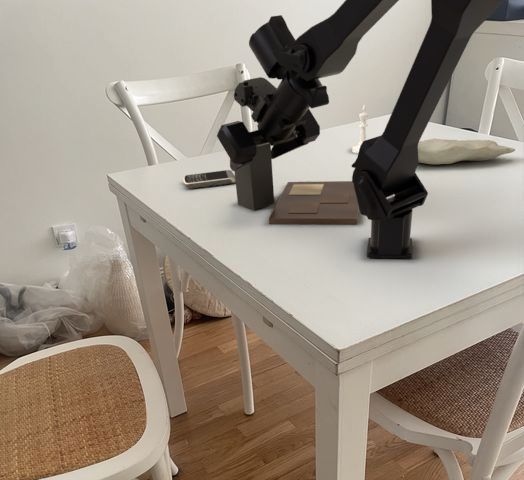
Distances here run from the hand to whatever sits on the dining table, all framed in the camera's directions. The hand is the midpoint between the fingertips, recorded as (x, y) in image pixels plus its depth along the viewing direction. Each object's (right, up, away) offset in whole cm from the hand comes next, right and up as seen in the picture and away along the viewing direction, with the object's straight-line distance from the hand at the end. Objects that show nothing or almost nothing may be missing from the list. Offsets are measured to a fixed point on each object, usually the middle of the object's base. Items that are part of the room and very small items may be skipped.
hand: (252, 162), depth 98 cm
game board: (+12, -7, +2) cm, 14 cm away
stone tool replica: (+42, +6, +17) cm, 45 cm away
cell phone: (-9, +1, +17) cm, 20 cm away
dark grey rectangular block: (+1, -6, +4) cm, 8 cm away
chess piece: (+26, +13, +29) cm, 41 cm away
